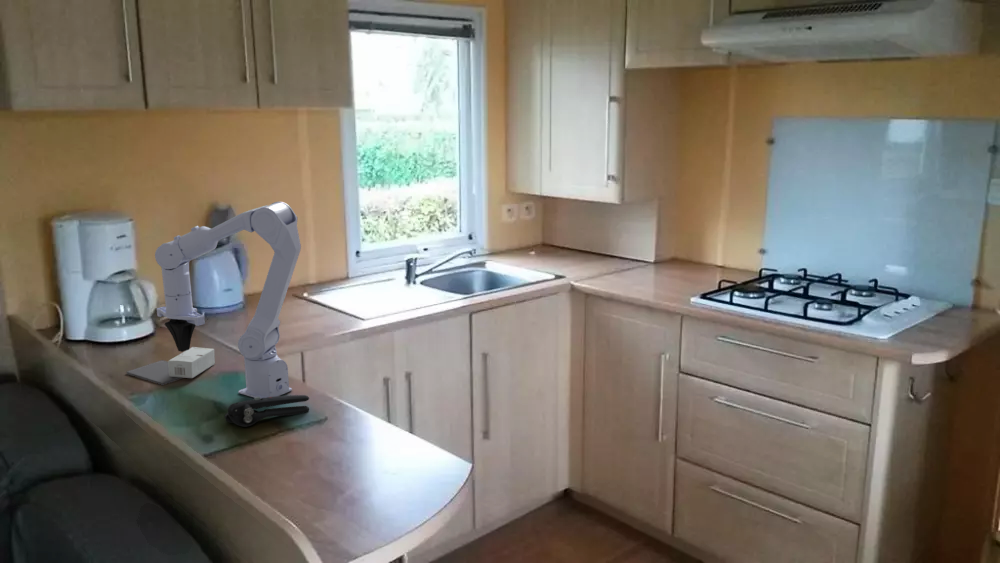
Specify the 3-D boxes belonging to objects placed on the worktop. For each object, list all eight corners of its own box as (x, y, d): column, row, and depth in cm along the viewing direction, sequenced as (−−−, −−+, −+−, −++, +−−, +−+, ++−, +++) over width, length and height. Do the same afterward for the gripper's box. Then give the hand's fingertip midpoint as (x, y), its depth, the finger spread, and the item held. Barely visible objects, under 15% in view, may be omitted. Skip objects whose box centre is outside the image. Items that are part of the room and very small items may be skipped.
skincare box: (167, 360, 190) (191, 345, 202) (168, 378, 191) (191, 362, 203) (192, 362, 190) (214, 346, 202) (193, 380, 191) (215, 363, 203)
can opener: (230, 434, 163) (228, 408, 162) (223, 422, 169) (221, 397, 168) (315, 416, 172) (314, 392, 171) (305, 405, 178) (304, 381, 177)
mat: (198, 372, 197) (198, 370, 197) (162, 385, 189) (162, 382, 189) (162, 362, 204) (162, 360, 204) (126, 374, 196) (126, 371, 196)
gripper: (213, 293, 181) (218, 350, 184) (173, 285, 189) (178, 340, 192) (186, 300, 175) (192, 359, 179) (146, 291, 183) (152, 348, 186)
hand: (183, 350), depth 185 cm, fingers closed
